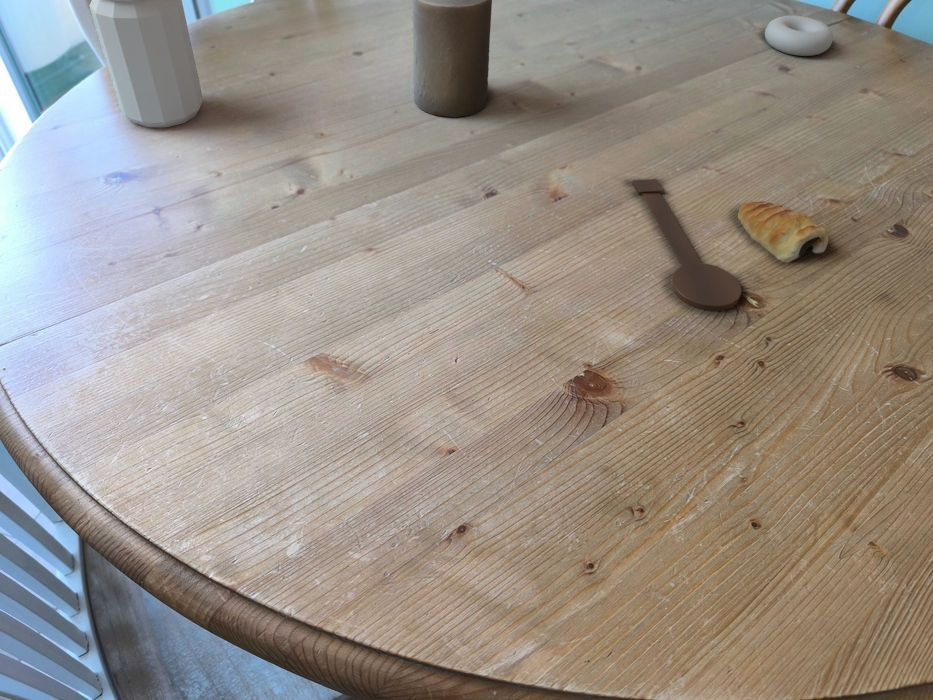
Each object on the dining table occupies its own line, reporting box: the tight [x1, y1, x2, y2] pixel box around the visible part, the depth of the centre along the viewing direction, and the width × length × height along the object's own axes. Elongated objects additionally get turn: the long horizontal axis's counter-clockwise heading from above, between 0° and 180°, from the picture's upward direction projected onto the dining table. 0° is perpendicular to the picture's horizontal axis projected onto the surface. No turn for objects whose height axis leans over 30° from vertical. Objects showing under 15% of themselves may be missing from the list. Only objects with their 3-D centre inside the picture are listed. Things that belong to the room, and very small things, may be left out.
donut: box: [764, 15, 834, 57], centre depth 115 cm, size 10×4×10 cm
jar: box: [88, 0, 204, 128], centre depth 87 cm, size 10×10×18 cm
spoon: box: [631, 178, 742, 312], centre depth 76 cm, size 6×22×2 cm, turn 8°
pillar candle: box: [412, 0, 493, 118], centre depth 93 cm, size 10×10×15 cm
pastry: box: [737, 200, 830, 264], centre depth 77 cm, size 9×7×4 cm
